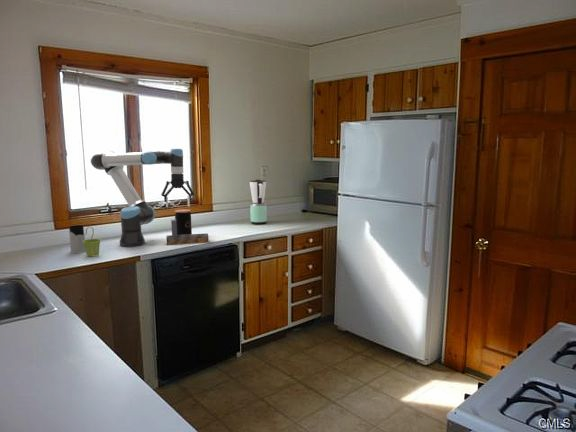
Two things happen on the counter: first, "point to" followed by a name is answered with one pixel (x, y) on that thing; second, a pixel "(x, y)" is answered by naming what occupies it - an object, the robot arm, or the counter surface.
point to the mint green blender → (258, 202)
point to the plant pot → (92, 247)
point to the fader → (174, 228)
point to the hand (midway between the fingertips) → (178, 206)
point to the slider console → (187, 239)
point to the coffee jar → (183, 222)
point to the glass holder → (77, 238)
